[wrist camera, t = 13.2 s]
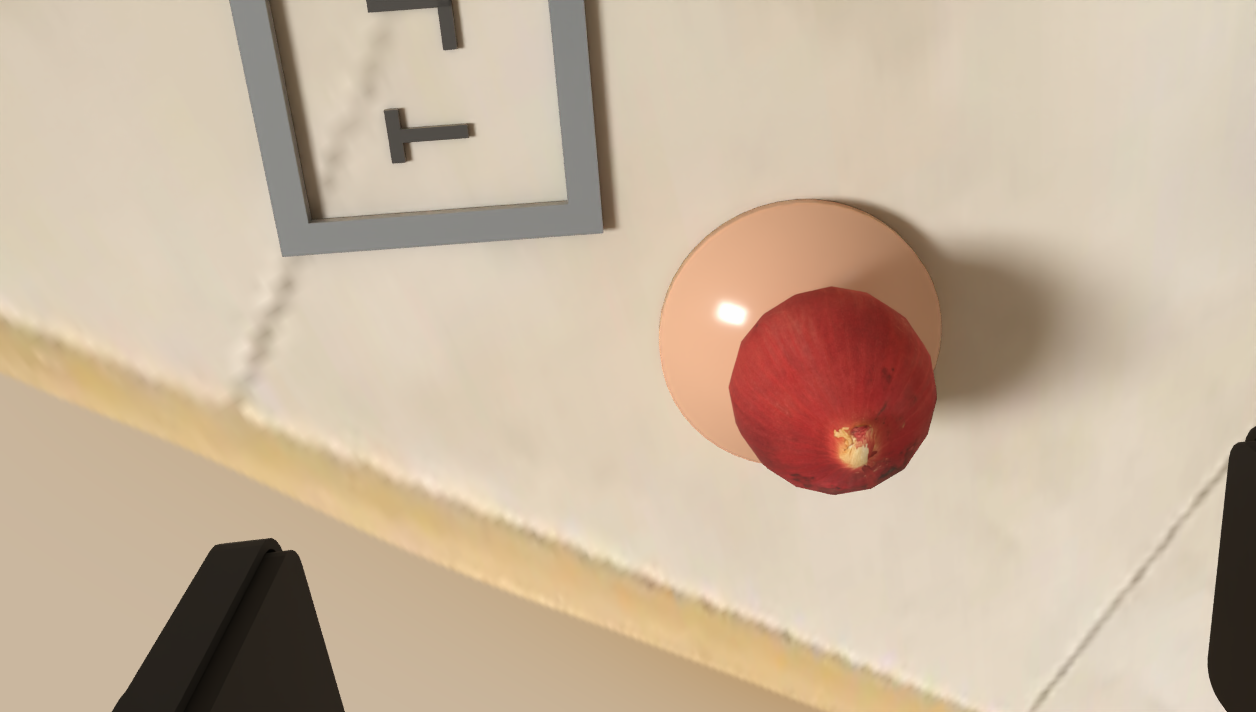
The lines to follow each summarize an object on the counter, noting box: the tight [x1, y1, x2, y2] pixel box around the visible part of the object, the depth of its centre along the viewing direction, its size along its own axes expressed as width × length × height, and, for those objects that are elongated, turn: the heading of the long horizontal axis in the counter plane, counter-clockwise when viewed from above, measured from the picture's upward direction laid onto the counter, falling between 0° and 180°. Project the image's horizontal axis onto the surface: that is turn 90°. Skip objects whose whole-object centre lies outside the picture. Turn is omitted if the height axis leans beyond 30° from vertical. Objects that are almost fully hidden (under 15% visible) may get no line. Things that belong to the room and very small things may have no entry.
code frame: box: [229, 0, 603, 257], centre depth 32 cm, size 10×10×1 cm
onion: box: [728, 286, 937, 495], centre depth 32 cm, size 6×6×8 cm
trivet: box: [659, 199, 942, 463], centre depth 36 cm, size 9×9×1 cm
